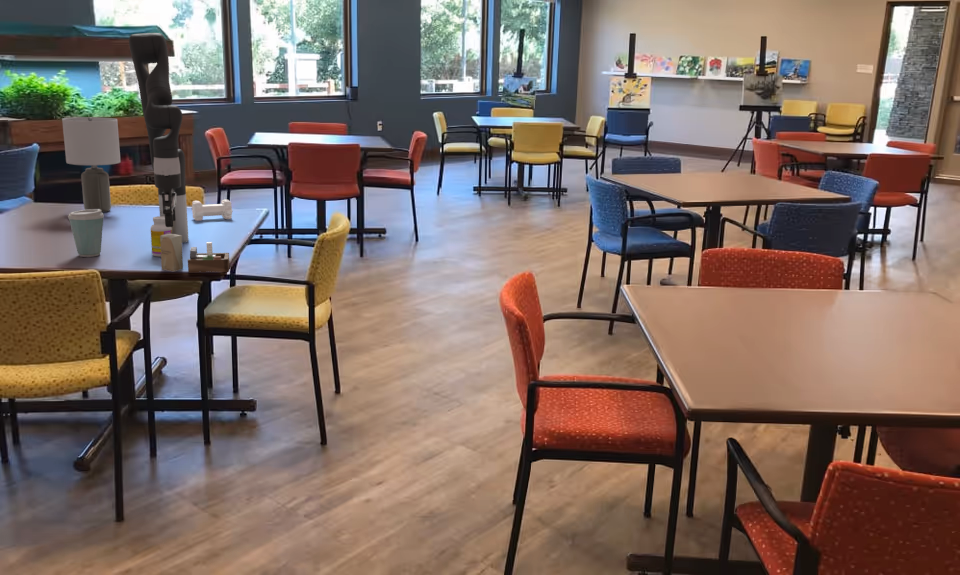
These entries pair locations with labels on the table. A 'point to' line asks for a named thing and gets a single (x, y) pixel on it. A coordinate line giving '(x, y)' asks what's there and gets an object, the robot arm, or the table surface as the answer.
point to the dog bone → (211, 210)
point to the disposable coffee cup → (87, 231)
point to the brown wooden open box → (209, 263)
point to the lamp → (92, 155)
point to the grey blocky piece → (194, 255)
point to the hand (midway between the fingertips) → (170, 223)
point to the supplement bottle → (158, 234)
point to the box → (171, 252)
